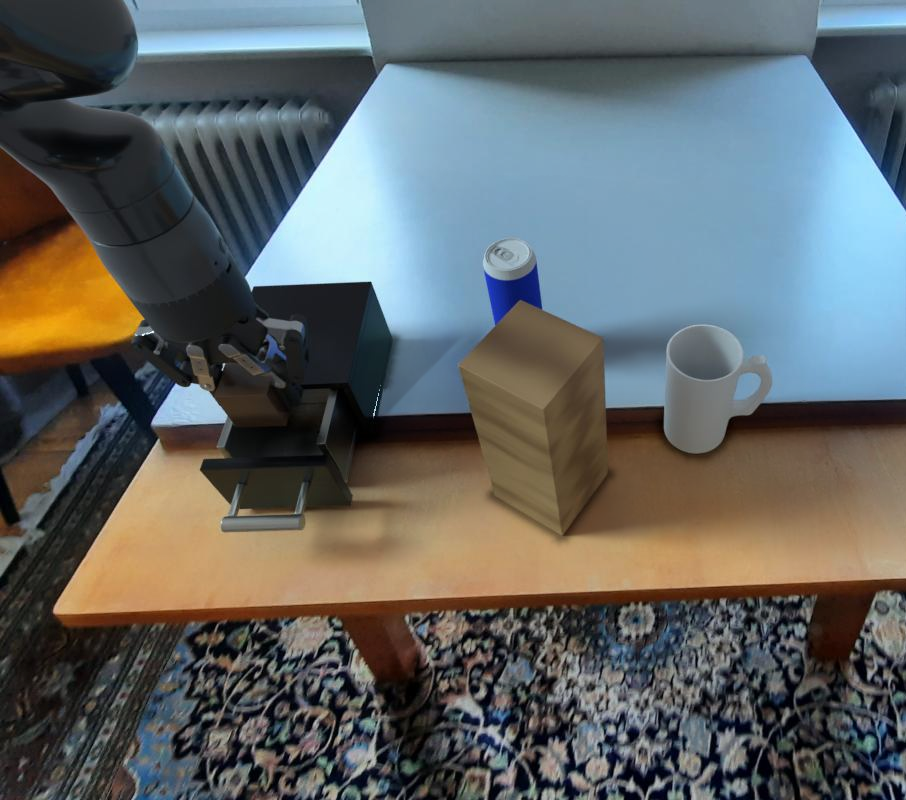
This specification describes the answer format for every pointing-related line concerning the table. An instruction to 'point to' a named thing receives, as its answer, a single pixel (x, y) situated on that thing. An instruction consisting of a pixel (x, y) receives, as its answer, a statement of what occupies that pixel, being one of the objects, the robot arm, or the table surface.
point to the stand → (540, 413)
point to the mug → (707, 386)
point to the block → (249, 399)
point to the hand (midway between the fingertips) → (266, 404)
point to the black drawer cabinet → (338, 339)
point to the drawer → (287, 463)
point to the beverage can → (511, 276)
